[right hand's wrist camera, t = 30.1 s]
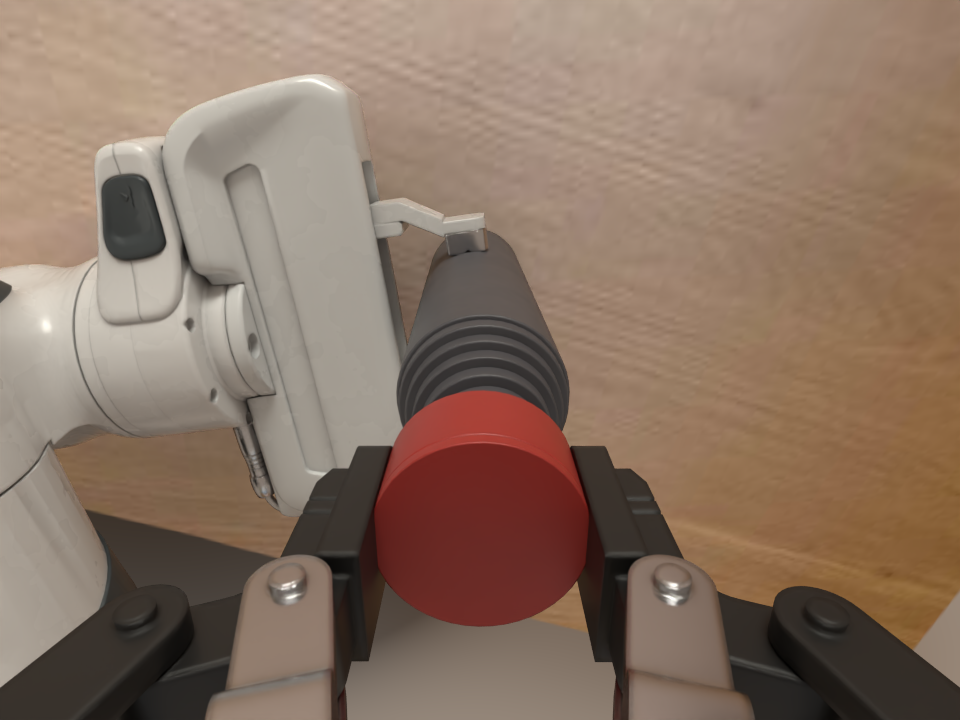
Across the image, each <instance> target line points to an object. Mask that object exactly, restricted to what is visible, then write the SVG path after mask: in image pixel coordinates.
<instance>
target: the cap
mask: <svg viewBox="0 0 960 720" xmlns="http://www.w3.org/2000/svg"><path fill="white" fill-rule="evenodd" d="M374 520H375V533H376V546H377V560H378V569H379V571H380V573H381V574H382V576H383V578H384V579H385V581H386V582H387V584H388V585H389V586H390V587H391V588H392V589H393V591H394V592H395V593H396V594H397V595H398V596H400V597H401V598H402V599H403V600H404V601H405V602H407V603H408V604H410V605H411V606H412V607H414V608H415V609H417V610H419V611H421V612H423V613H425V614H426V615H429V616H431V617H434V618H436V619H439V620H442V621H446V622H449V623H453V624H459V625H465V626H478V627H479V626H497V625H504V624H509V623H513V622H517V621H520V620H523V619H526V618H529V617H531V616H534V615H536V614H538V613H540V612H542V611H544V610H545V609H547V608H548V607H550V606H551V605H553V604H554V603H556V602H557V601H558V600H559V599H561V598H562V597H563V596H564V595H565V594H566V593H567V592H568V591H569V590H570V589H571V588H572V587H573V585H574V584H575V582H576V581H577V580H578V578H579V577H580V575H581V573H582V571H583V569H584V567H585V563H586V550H587V537H588V525H589V510H588V507H587V504H586V500H585V497H584V494H583V490H582V487H581V484H580V480H579V477H578V474H577V470H576V467H575V464H574V460H573V457H572V454H571V450H570V447H569V445H568V442H567V440H566V438H565V436H564V434H563V433H562V431H561V430H560V428H559V427H558V426H557V424H556V423H555V422H554V421H553V420H552V419H551V418H550V417H549V416H548V415H547V414H546V413H544V412H543V411H542V410H541V409H539V408H538V407H536V406H535V405H533V404H532V403H530V402H527V401H525V400H523V399H521V398H519V397H516V396H513V395H510V394H506V393H501V392H496V391H484V390H482V391H467V392H461V393H456V394H453V395H449V396H446V397H444V398H441V399H439V400H437V401H434V402H433V403H431V404H429V405H428V406H426V407H424V408H423V409H422V410H420V411H419V412H418V413H416V414H415V415H414V416H413V417H412V418H411V419H410V420H409V421H408V422H407V423H406V425H405V426H404V427H403V429H402V430H401V431H400V433H399V435H398V437H397V439H396V440H395V442H394V445H393V448H392V451H391V454H390V458H389V461H388V465H387V468H386V471H385V475H384V478H383V481H382V485H381V488H380V491H379V495H378V498H377V502H376V505H375V508H374Z"/></svg>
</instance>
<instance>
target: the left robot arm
mask: <svg viewBox="0 0 960 720" xmlns="http://www.w3.org/2000/svg"><path fill="white" fill-rule="evenodd" d="M94 177H95V192H96V208H97V230H98V256H97V257H95V258H92V259H90V260H89V261H87V262H85V263H83V264H80V265H78V266H75V267H65V268H64V267H57V266H51V265H43V264H28V265H18V266H12V267H5V268H0V687H2V686H3V685H4V684H5V683H7V682H8V681H9V680H10V679H12V678H13V677H14V676H16V675H17V674H18V673H19V672H21V671H22V670H23V669H24V668H26V667H27V666H28V665H29V664H31V663H32V662H33V661H35V660H36V659H37V658H38V657H40V656H41V655H42V654H43V653H45V652H46V651H47V650H49V649H50V648H51V647H52V646H54V645H55V644H56V643H57V642H59V641H60V640H61V639H62V638H64V637H65V636H66V635H68V634H69V633H70V632H71V631H73V630H74V629H75V628H76V627H78V626H79V625H80V624H81V623H83V622H84V621H85V620H87V619H88V618H89V617H90V616H92V615H93V614H94V613H95V612H97V611H98V610H99V609H101V608H102V607H103V606H104V605H106V604H107V603H109V602H110V601H112V600H113V599H115V598H117V597H118V596H120V595H123V594H125V593H127V592H129V591H132V590H134V589H137V587H136V585H135V584H134V582H133V581H132V579H131V578H130V576H129V575H128V573H127V572H126V571H125V569H124V568H123V566H122V565H121V563H120V562H119V560H118V559H117V557H116V556H115V554H114V553H113V551H112V550H111V548H110V547H109V546H108V544H107V542H106V541H105V539H104V538H103V537H102V536H101V534H100V533H99V532H98V531H97V530H96V529H94V527H93V525H92V523H91V521H90V519H89V517H88V515H87V514H86V512H85V510H84V508H83V506H82V504H81V502H80V500H79V498H78V496H77V494H76V492H75V490H74V488H73V486H72V485H71V483H70V481H69V479H68V477H67V475H66V473H65V471H64V469H63V467H62V465H61V463H60V461H59V460H58V458H57V456H56V454H55V452H54V449H61V448H66V447H71V446H75V445H78V444H81V443H84V442H86V441H89V440H91V439H93V438H95V437H98V436H101V435H118V436H123V437H129V438H151V437H160V436H169V435H177V434H185V433H193V432H201V431H208V430H217V429H225V428H233V430H234V433H235V436H236V439H237V442H238V445H239V448H240V450H241V453H242V455H243V457H244V459H245V461H246V463H247V466H248V468H249V472H250V481H251V485H252V487H253V490H254V491H255V493H256V495H257V496H258V497H259V498H265V499H266V500H267V502H268V503H269V504H270V505H271V506H272V507H273V508H275V509H276V510H278V511H280V512H281V513H282V514H283V515H285V516H289V517H300V515H301V514H303V509H304V507H305V505H306V503H307V501H309V497H310V494H311V492H312V490H313V488H314V486H315V484H316V482H317V481H318V480H319V479H321V478H322V477H323V476H324V475H325V474H327V473H328V472H329V471H330V470H331V469H332V468H349V466H350V464H351V461H352V459H353V456H354V454H355V451H356V449H357V447H358V446H392V447H393V445H394V442H395V440H396V439H397V437H398V435H399V433H400V431H401V430H402V429H403V427H402V424H401V421H400V416H399V412H398V406H397V397H396V390H397V381H398V377H399V373H400V369H401V366H402V362H403V359H404V355H405V352H406V348H407V345H408V344H407V339H406V334H405V329H404V323H403V318H402V313H401V308H400V302H399V297H398V292H397V287H396V281H395V276H394V271H393V266H392V261H391V255H390V250H389V245H388V240H387V238H388V237H394V236H401V235H402V234H403V232H404V231H405V230H406V229H407V227H408V226H409V225H408V224H411V225H413V226H416V227H418V228H421V229H423V230H426V231H429V232H431V233H434V234H436V235H439V236H441V237H445V240H446V245H447V251H448V256H452V255H459V254H463V253H465V252H466V251H467V250H469V251H471V252H481V251H485V250H488V240H487V232H486V224H485V216H484V213H473V214H466V215H458V216H451V217H445V215H444V214H442V213H440V212H437V211H435V210H433V209H430V208H428V207H425V206H423V205H421V204H418V203H416V202H414V201H411V200H409V199H406V198H397V199H390V200H383V201H380V198H379V193H378V187H377V182H376V177H375V172H374V166H373V161H372V156H371V151H370V145H369V140H368V135H367V130H366V125H365V119H364V114H363V109H362V104H361V100H360V98H359V96H358V95H357V94H356V93H355V92H354V91H353V90H351V89H350V88H349V87H347V86H346V85H345V84H343V83H342V82H340V81H339V80H337V79H335V78H333V77H331V76H328V75H323V74H310V75H302V76H296V77H290V78H286V79H281V80H276V81H272V82H268V83H264V84H260V85H256V86H252V87H249V88H246V89H242V90H239V91H235V92H232V93H229V94H226V95H223V96H220V97H218V98H215V99H212V100H209V101H207V102H204V103H202V104H199V105H197V106H195V107H193V108H191V109H190V110H188V111H186V112H185V113H183V114H182V115H181V116H180V117H179V118H177V119H176V120H175V122H174V123H173V124H172V125H171V127H170V128H169V130H168V132H167V134H166V136H153V137H141V138H134V139H128V140H124V141H119V142H116V143H112V144H109V145H106V146H104V147H102V148H101V149H100V150H99V151H98V152H97V155H96V158H95V164H94ZM274 493H275V496H276V498H275V497H274V496H273V494H274Z"/></svg>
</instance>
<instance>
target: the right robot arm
mask: <svg viewBox="0 0 960 720" xmlns="http://www.w3.org/2000/svg"><path fill="white" fill-rule="evenodd" d="M392 448H393V447H392V446H358V447H357V449H356V451H355V454H354V456H353V459H352V461H351V464H350V466H349V468H332V469H331V470H330V471H329V472H328V473H327V474H325V475H324V476H323V477H322V478H321V479H319V480H318V481H317V482H316V484H315V486H314V488H313V490H312V492H311V494H310V497H309V501H307V503H306V505H305V507H304V509H303V514H301V515H300V517H299V520H298V522H297V524H296V526H295V528H294V530H293V532H292V534H291V536H290V538H289V540H288V543H287V545H286V547H285V549H284V551H283V553H282V555H281V557H280V558H278V559H275V560H273V561H271V562H269V563H267V564H265V565H264V566H262V567H261V568H259V569H258V570H256V571H255V572H254V573H253V574H252V575H251V576H250V578H249V579H248V580H247V582H246V584H245V586H244V589H243V592H242V593H240V594H237V595H235V596H232V597H228V598H225V599H220V600H216V601H212V602H208V603H204V604H199V605H195V606H191V607H189V603H188V599H187V596H186V594H185V593H184V592H183V591H182V590H181V589H179V588H177V587H175V586H171V585H151V586H145V587H141V588H138V589H134V590H132V591H129V592H127V593H125V594H123V595H120V596H118V597H117V598H115V599H113V600H112V601H110V602H109V603H107V604H106V605H104V606H103V607H102V608H101V609H99V610H98V611H97V612H95V613H94V614H93V615H92V616H90V617H89V618H88V619H87V620H85V621H84V622H83V623H81V624H80V625H79V626H78V627H76V628H75V629H74V630H73V631H71V632H70V633H69V634H68V635H66V636H65V637H64V638H62V639H61V640H60V641H59V642H57V643H56V644H55V645H54V646H52V647H51V648H50V649H49V650H47V651H46V652H45V653H43V654H42V655H41V656H40V657H38V658H37V659H36V660H35V661H33V662H32V663H31V664H29V665H28V666H27V667H26V668H24V669H23V670H22V671H21V672H19V673H18V674H17V675H16V676H14V677H13V678H12V679H10V680H9V681H8V682H7V683H5V684H4V685H3V686H2V687H0V720H347V702H346V690H345V684H346V681H347V677H348V673H349V669H350V665H351V661H369V657H370V652H371V647H372V643H373V638H374V633H375V629H376V624H377V619H378V615H379V610H380V605H381V601H382V596H383V591H384V587H385V582H386V581H385V579H384V578H383V576H382V574H381V573H380V571H379V569H378V560H377V546H376V533H375V520H374V508H375V505H376V502H377V498H378V495H379V491H380V488H381V485H382V481H383V478H384V475H385V471H386V468H387V465H388V461H389V458H390V454H391V451H392ZM570 450H571V454H572V457H573V460H574V464H575V467H576V470H577V474H578V477H579V480H580V484H581V487H582V490H583V494H584V497H585V500H586V504H587V507H588V510H589V525H588V537H587V550H586V563H585V567H584V569H583V571H582V573H581V575H580V577H579V578H578V580H577V582H578V587H579V591H580V596H581V600H582V605H583V609H584V614H585V618H586V623H587V628H588V632H589V636H590V641H591V646H592V650H593V655H594V659H595V662H613V666H614V670H615V674H616V681H615V690H614V702H613V720H960V687H958V686H957V685H956V684H955V683H953V682H952V681H951V680H950V679H948V678H947V677H946V676H944V675H943V674H942V673H941V672H939V671H938V670H937V669H936V668H934V667H933V666H932V665H930V664H929V663H928V662H927V661H925V660H924V659H923V658H922V657H920V656H919V655H918V654H917V653H915V652H914V651H913V650H912V649H910V648H909V647H908V646H906V645H905V644H904V643H903V642H901V641H900V640H899V639H898V638H896V637H895V636H894V635H892V634H891V633H890V632H889V631H887V630H886V629H885V628H884V627H882V626H881V625H880V624H879V623H877V622H876V621H875V620H873V619H872V618H871V617H870V616H868V615H867V614H866V613H865V612H863V611H862V610H861V609H860V608H858V607H857V606H855V605H854V604H853V603H851V602H849V601H848V600H846V599H844V598H842V597H840V596H838V595H836V594H834V593H831V592H828V591H826V590H822V589H819V588H814V587H806V586H795V587H790V588H786V589H784V590H782V591H781V592H779V593H778V594H777V596H776V597H775V600H774V604H773V607H770V606H766V605H762V604H758V603H753V602H749V601H745V600H741V599H737V598H734V597H730V596H728V595H725V594H722V593H720V592H718V591H717V589H716V586H715V584H714V582H713V580H712V579H711V578H710V576H709V575H708V574H707V573H706V572H705V571H704V570H702V569H701V568H699V567H698V566H696V565H695V564H693V563H691V562H689V561H687V560H685V559H684V558H683V556H682V554H681V552H680V550H679V548H678V546H677V544H676V542H675V540H674V537H673V535H672V533H671V531H670V529H669V527H668V525H667V523H666V521H665V519H664V517H663V515H662V514H661V511H660V509H659V507H658V505H657V503H656V501H654V496H653V494H652V492H651V490H650V488H649V486H648V484H647V482H646V481H644V480H643V479H642V478H641V477H640V476H638V475H637V474H636V473H635V472H634V471H632V470H631V469H615V468H614V466H613V464H612V461H611V459H610V456H609V454H608V451H607V449H606V447H605V446H571V447H570Z"/></svg>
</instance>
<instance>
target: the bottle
mask: <svg viewBox="0 0 960 720" xmlns="http://www.w3.org/2000/svg"><path fill="white" fill-rule="evenodd" d="M486 232H487V240H488V250H485V251H481V252H471V251H469V250H467V251H466V252H465V253H463V254H459V255H452V256H448V251H447V245H446V240H445V241H444V242H443V243H442V244H441V245H440V246H439V248H438V249H437V251H436V253H435V255H434V257H433V260H432V263H431V267H430V270H429V273H428V277H427V280H426V284H425V287H424V290H423V294H422V297H421V301H420V304H419V308H418V311H417V314H416V318H415V321H414V325H413V328H412V331H411V335H410V338H409V342H408V345H407V348H406V352H405V355H404V359H403V362H402V366H401V369H400V373H399V377H398V381H397V390H396V397H397V406H398V412H399V416H400V421H401V424H402V427H404V426H405V425H406V423H407V422H408V421H409V420H410V419H411V418H412V417H413V416H414V415H415V414H416V413H418V412H419V411H420V410H422V409H423V408H424V407H426V406H428V405H429V404H431V403H433V402H434V401H437V400H439V399H441V398H444V397H446V396H449V395H453V394H456V393H461V392H467V391H482V390H484V391H496V392H501V393H506V394H510V395H513V396H516V397H519V398H521V399H523V400H525V401H527V402H530V403H532V404H533V405H535V406H536V407H538V408H539V409H541V410H542V411H543V412H544V413H546V414H547V415H548V416H549V417H550V418H551V419H552V420H553V421H554V422H555V423H556V424H557V426H558V427H559V428H560V430H561V431H562V430H563V427H564V425H565V422H566V418H567V414H568V405H569V392H570V391H569V380H568V376H567V371H566V369H565V366H564V363H563V361H562V359H561V356H560V354H559V352H558V350H557V347H556V345H555V343H554V341H553V338H552V336H551V334H550V332H549V329H548V327H547V325H546V323H545V320H544V318H543V316H542V314H541V311H540V309H539V307H538V305H537V302H536V300H535V298H534V296H533V293H532V291H531V289H530V287H529V284H528V282H527V280H526V278H525V275H524V273H523V271H522V269H521V267H520V264H519V262H518V260H517V258H516V255H515V253H514V251H513V250H512V248H511V247H510V246H509V244H508V243H507V242H506V241H505V240H504V239H502V238H501V237H500V236H498V235H496V234H494V233H492V232H490V231H486Z"/></svg>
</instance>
